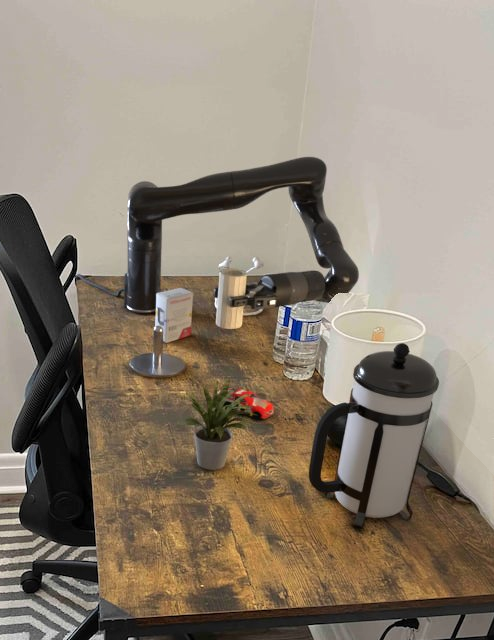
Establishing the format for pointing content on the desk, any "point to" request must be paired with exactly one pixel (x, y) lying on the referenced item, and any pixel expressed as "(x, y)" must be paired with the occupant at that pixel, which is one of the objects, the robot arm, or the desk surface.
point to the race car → (249, 403)
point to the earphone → (257, 265)
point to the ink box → (174, 313)
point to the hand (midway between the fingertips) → (222, 297)
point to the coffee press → (378, 434)
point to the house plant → (215, 427)
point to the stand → (157, 360)
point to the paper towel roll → (229, 286)
